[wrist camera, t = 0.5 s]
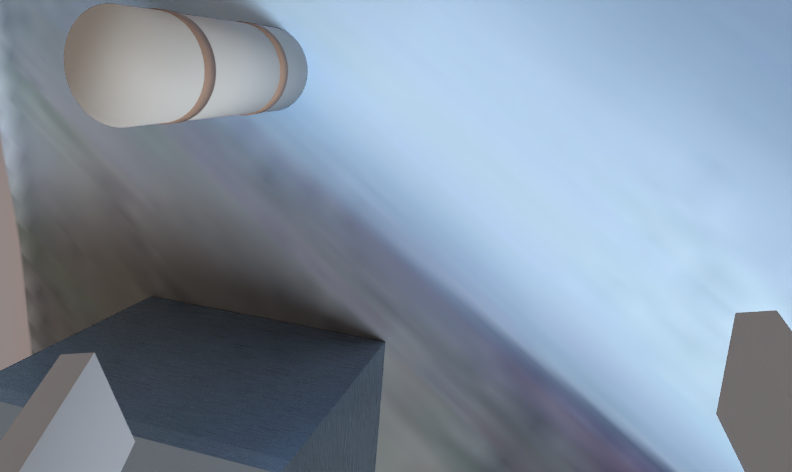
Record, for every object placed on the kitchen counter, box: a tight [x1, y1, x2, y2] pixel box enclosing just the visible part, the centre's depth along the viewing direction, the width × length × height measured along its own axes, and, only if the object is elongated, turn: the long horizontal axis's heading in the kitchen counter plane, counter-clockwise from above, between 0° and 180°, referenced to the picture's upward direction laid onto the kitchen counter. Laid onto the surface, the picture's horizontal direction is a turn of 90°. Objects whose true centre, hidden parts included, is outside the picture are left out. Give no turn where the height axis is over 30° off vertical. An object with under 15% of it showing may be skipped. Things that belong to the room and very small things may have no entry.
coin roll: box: [64, 3, 308, 128], centre depth 32 cm, size 5×5×13 cm
